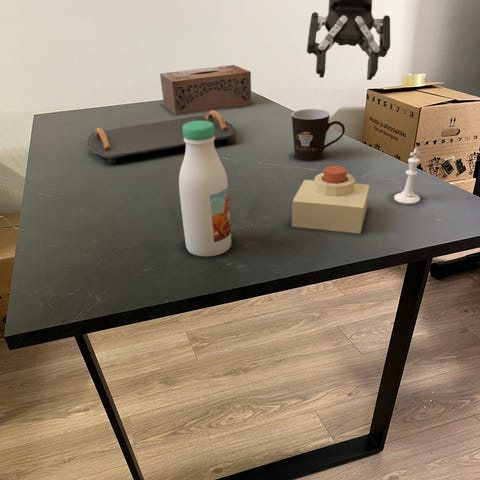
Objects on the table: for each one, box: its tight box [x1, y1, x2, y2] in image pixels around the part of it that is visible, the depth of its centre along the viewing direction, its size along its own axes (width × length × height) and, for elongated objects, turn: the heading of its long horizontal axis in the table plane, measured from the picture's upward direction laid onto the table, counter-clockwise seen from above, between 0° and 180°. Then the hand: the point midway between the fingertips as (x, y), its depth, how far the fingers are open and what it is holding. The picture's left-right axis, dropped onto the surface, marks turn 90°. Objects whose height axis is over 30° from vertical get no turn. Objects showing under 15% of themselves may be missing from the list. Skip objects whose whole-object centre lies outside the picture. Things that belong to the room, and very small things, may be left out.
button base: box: [291, 172, 370, 235], centre depth 84 cm, size 12×10×7 cm
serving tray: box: [86, 110, 237, 166], centre depth 123 cm, size 39×23×6 cm, turn 114°
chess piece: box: [393, 148, 421, 205], centre depth 88 cm, size 5×5×10 cm
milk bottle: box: [178, 121, 232, 257], centre depth 73 cm, size 8×8×20 cm
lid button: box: [323, 165, 348, 184], centre depth 83 cm, size 4×4×2 cm
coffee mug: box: [291, 108, 346, 162], centre depth 108 cm, size 12×9×10 cm
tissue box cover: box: [159, 64, 252, 116], centre depth 153 cm, size 26×14×10 cm, turn 112°
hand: (346, 76), depth 83 cm, fingers open, 8 cm apart
